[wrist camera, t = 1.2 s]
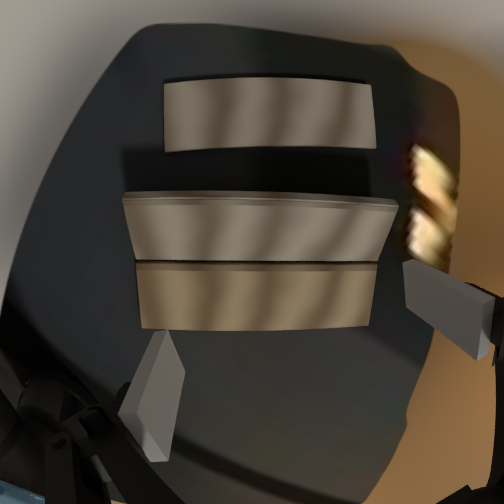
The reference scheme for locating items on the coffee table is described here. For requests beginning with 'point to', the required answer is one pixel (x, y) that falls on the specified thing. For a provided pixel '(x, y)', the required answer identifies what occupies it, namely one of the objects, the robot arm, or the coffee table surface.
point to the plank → (267, 114)
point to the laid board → (254, 295)
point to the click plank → (257, 225)
